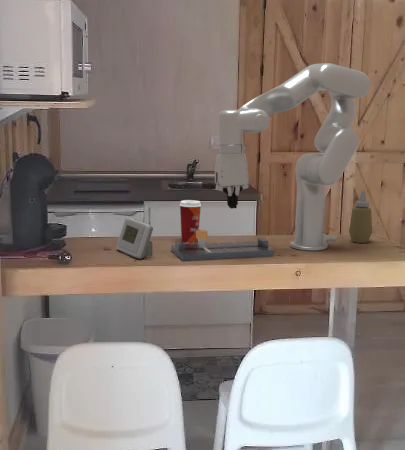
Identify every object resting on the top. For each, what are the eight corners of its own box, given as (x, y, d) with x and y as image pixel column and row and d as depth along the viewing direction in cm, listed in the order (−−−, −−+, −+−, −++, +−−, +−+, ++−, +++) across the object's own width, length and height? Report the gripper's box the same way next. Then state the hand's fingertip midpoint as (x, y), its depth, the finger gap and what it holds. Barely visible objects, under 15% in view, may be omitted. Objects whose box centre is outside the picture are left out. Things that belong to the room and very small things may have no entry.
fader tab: (204, 246, 211) (205, 229, 210) (207, 247, 209) (207, 231, 208) (195, 246, 210) (196, 230, 209) (198, 248, 208) (198, 231, 207)
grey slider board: (257, 246, 223) (257, 235, 222) (273, 256, 210) (274, 243, 209) (171, 250, 214) (171, 238, 213) (182, 261, 201) (183, 248, 200)
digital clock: (115, 249, 214) (115, 217, 212) (142, 248, 218) (142, 216, 216) (128, 261, 200) (128, 226, 198) (156, 259, 203) (157, 225, 201)
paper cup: (198, 244, 225) (199, 203, 222) (176, 242, 226) (176, 202, 223) (202, 239, 232) (203, 200, 229) (181, 238, 234) (182, 199, 231)
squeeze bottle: (373, 244, 230) (377, 193, 227) (350, 243, 230) (353, 192, 227) (368, 239, 238) (371, 190, 235) (346, 239, 238) (349, 189, 235)
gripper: (249, 147, 212) (250, 203, 216) (205, 150, 208) (206, 207, 211) (258, 149, 205) (258, 207, 209) (212, 152, 201) (214, 211, 204)
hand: (232, 207), depth 210 cm, fingers closed
